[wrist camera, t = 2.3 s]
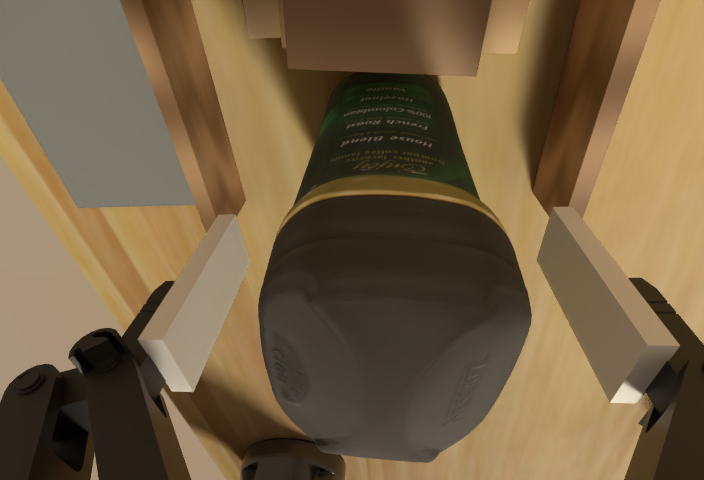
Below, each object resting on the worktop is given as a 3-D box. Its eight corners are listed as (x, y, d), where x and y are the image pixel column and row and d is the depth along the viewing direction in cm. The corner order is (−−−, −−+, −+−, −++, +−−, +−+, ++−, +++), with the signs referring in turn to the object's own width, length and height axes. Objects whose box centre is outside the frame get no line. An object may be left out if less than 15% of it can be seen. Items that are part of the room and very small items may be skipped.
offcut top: (465, 64, 17) (475, 76, 15) (298, 57, 18) (287, 68, 16) (485, -42, 15) (501, -44, 13) (292, -48, 15) (278, -50, 13)
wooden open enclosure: (546, 191, 26) (577, 232, 22) (233, 200, 28) (208, 239, 24) (633, -121, 17) (714, -150, 13) (151, -73, 19) (88, -84, 15)
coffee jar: (323, 63, 22) (202, 265, 7) (456, 69, 22) (623, 291, 7) (325, 203, 28) (262, 475, 13) (431, 208, 27) (491, 494, 13)
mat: (214, 201, 28) (212, 204, 28) (81, 205, 29) (77, 208, 29) (139, -22, 20) (135, -22, 20) (-43, -6, 21) (-50, -6, 21)
